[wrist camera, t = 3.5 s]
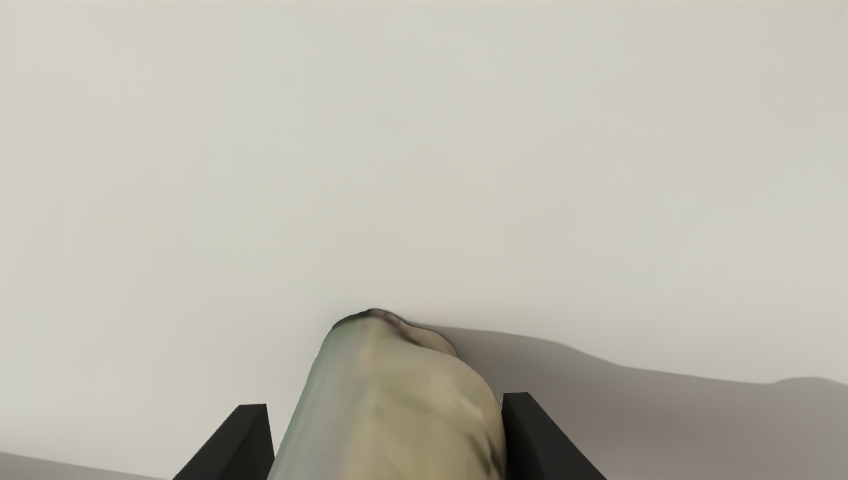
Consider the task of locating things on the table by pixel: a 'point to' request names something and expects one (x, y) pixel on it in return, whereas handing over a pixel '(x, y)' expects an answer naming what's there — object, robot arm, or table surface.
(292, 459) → the pale green rounded block
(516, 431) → the robot arm
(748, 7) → the table surface
